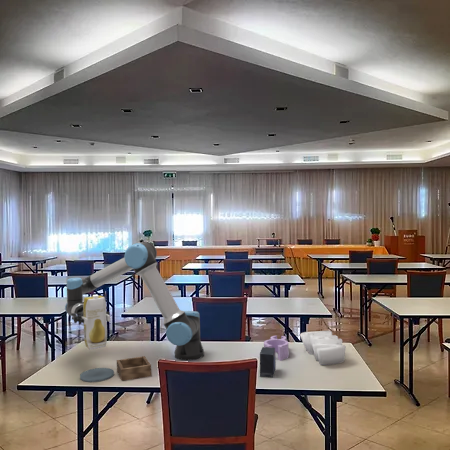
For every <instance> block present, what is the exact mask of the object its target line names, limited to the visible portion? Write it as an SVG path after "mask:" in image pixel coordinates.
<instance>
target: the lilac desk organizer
mask: <svg viewBox="0 0 450 450" xmlns="http://www.w3.org/2000/svg"><path fill="white" fill-rule="evenodd" d="M263 347H269V348H275V354H277V359H278V360H279V361H281V362H282V361H284V360H285V359H288V357H289V355H290V353H289V349H290V348H289V341H288V340H287V336H285V335H281V337H280V338H278V335H272V336H270V338H269V339H266V340H264V341H263Z"/></svg>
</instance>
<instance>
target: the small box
mask: <svg viewBox="0 0 450 450" xmlns="http://www.w3.org/2000/svg"><path fill="white" fill-rule="evenodd" d="M276 356H277V355H276V353H275V348H269V347H264V346H262V348H261V350H260V352H259V377H261V378H274V377H275V372H276V367H277V366H276V365H277V364H276V363H277V361H276V359H277V358H276Z"/></svg>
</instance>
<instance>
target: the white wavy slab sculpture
mask: <svg viewBox="0 0 450 450" xmlns="http://www.w3.org/2000/svg"><path fill="white" fill-rule="evenodd" d="M299 335H300V339H301V341H302V343H303V346H304V349H305V351H306V352H308V354H309V355H313V356H314V357H315V361H316V362H318V365H320V366H331V365H337V364H340V363H341V364H342V363H344V361H345V359H346V357H345V356H346V349H347V348H346V347H347V346H346V345H345V344H344V345H343V339H342V338H339V336H337V335H335V334H333V331H332V330H319V331H304V332H301V333H300V334H299Z"/></svg>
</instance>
